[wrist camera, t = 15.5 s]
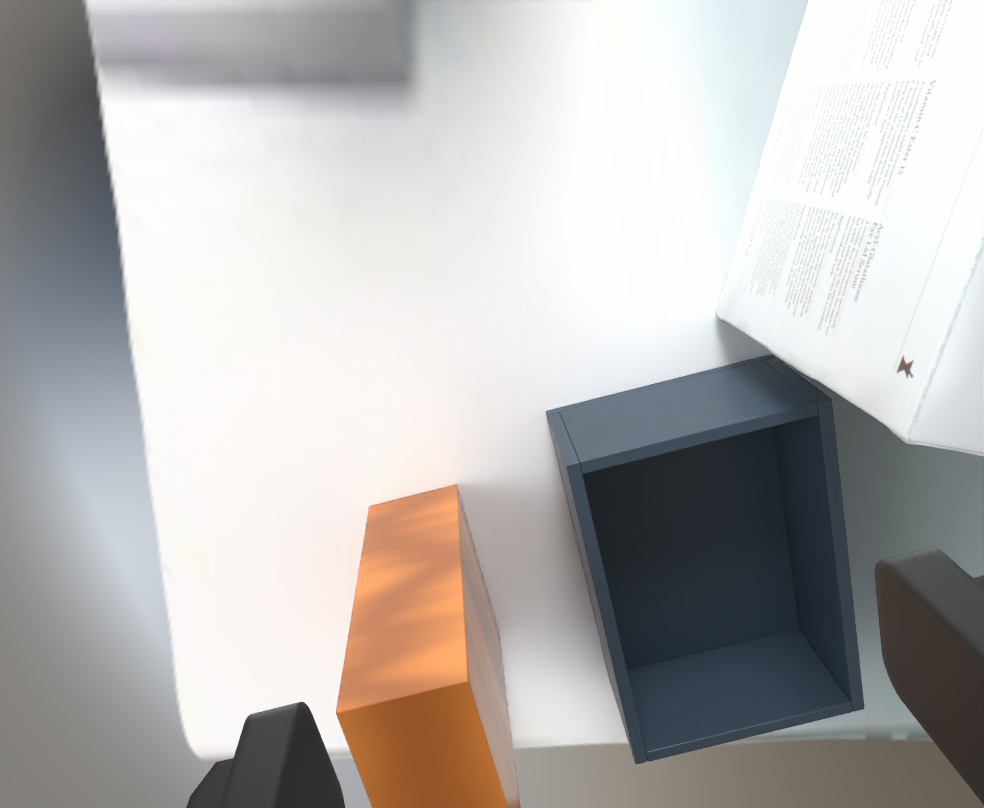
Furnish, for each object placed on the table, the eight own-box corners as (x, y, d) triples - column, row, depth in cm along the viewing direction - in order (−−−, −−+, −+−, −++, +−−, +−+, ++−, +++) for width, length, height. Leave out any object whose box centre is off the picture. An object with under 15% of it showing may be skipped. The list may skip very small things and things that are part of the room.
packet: (456, 483, 41) (468, 680, 27) (498, 631, 44) (529, 877, 30) (368, 505, 41) (335, 712, 27) (417, 652, 44) (409, 905, 30)
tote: (771, 353, 40) (832, 398, 34) (807, 628, 46) (865, 709, 39) (545, 410, 40) (565, 465, 34) (608, 677, 46) (635, 764, 40)
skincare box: (817, 338, 40) (1048, 476, 25) (710, 316, 39) (882, 446, 24) (991, -164, 33) (1450, -386, 18) (866, -201, 32) (1236, -462, 18)
